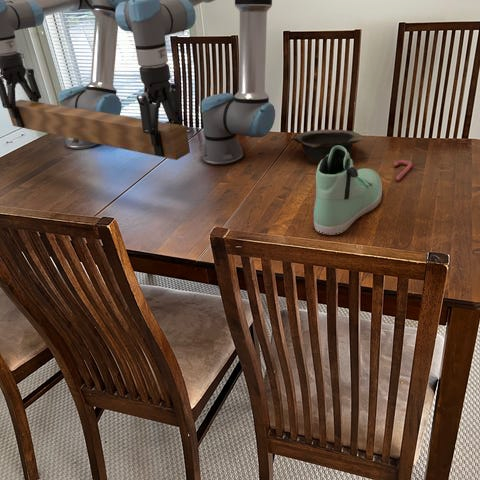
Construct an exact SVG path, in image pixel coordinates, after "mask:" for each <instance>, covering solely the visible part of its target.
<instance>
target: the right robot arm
mask: <svg viewBox="0 0 480 480" xmlns="http://www.w3.org/2000/svg"><path fill="white" fill-rule="evenodd" d="M214 1H215V0H129V1H126V2H121V3H119V4H118V6H117V7H116V11H115V18H116V21H117V24H118V28H120V29H121V30H122V31H124V32H129V33H132V36H133V41H134V46H135V53H136V59H137V65H138V66H140V67H139V69H138V70H139V75H140V81H141V83H142V84H143V87H144V89H143V93H141V94H137V95H136V101H137V103H138V105H139V113H140V119H141V120H142V128H143V132H144V133H147V134H150V137H151V143H152V145H153V146H154V152H155V155H154V156H155V157H159V156H160V157H161V158H164V151H163V145H162V139H161V133H158V121H159V118H160V116H159V115H160V108H161V105H162V109H163V110H164V113H165V115H166V117H167V120H168V122H169V123H171V124H178V125H182V124H181V123H182V121H181V120H182V119H183V113H182V108H181V102H180V95H179V84H178V83H173V82H172V83H171V82H170V80H171V77H172V76H171V70H170V65H169V64H168V62H169V58H168V52H167V42H166V37H167V36H170V35H174V34H178V33H181V32H182V33H184V32H185V31H187V30H190V29H192V28H193V26H194V25H195V22H196V20H197V19H196V18H197V15H196V10H195V6H197V5H199V4H203V3H206V4H208V3H212V2H214ZM272 6H273V0H234V7H235V8H236V9H237V10H238V13H239V24H238V25H239V32H238V33H239V34H238V35H239V37H238V38H239V42H238V91H237V92H236V93H235V94H233V93H231V92H223V93H222V92H221V93H217V94H213V95H210V96H206V97H204V98H203V99H202V100H201V104H200V106H201V111H200V113H201V118H202V126H203V134H204V142H203V147H202V151H201V160H202V162H203V163H204V164H207V165H209V166H217V167H219V166H229V165H232V164H236V163H238V162H240V161H241V160H242V159H243V157H244V153H243V149H242V147H241V143H240V141H239V139H238V137H237V135H238V136H244V137H249V138H259V139H260V138H264V137H266V136H268V134H269V133H270V132H271V130H272V128H273V126H274V124H275V120H276V109H275V106H274V104H273V103H271V102H270V96H269V95H268V93H266V91H265V90H266V60H267V59H266V58H267V56H266V55H267V53H266V52H267V50H266V49H267V25H268V24H267V22H268V19H267V18H268V11H269V10H271V8H272Z"/></svg>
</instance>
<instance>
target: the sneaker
mask: <svg viewBox="0 0 480 480" xmlns="http://www.w3.org/2000/svg"><path fill="white" fill-rule="evenodd" d="M317 165H318V166H317V168H316V172H315V201H314V207H313V225H314V229H315V231H316V232H318V233H320V234H323V235H326V236H327V235H328V236H336V235H339V234H342V233H344V232H345V231H347V230H348V229H349V228H350V227H351V226H352V225H353V224H354V222H356V221H357V220H358V219H359V218H360V217H362V216H363V215H365V214H367V213H370V212H372V210H374V209H375V208H377V207H378V205H380V203H381V200H382V196H383V184H382V183H383V182H382V179H381V176H380V175H379V173H378V172H377V171H376V170H374V169H372V168H367V167H365V168H358V169H357V168H355V167H354V161H353V159H352V158H351V155H350V156H349V153H348V152H347V150H346V149H345V148H344V147H342V146H334V147H333V148H332V149H331V152H330V154H329V155H327V156H326V157H325V158H324V159H322V160H321V161H320V163H318V164H317ZM343 230H344V231H343ZM319 231H320V232H319ZM322 232H323V233H322ZM339 232H340V233H339ZM326 233H327V234H326ZM328 233H329V234H328ZM335 233H337V234H335Z"/></svg>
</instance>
